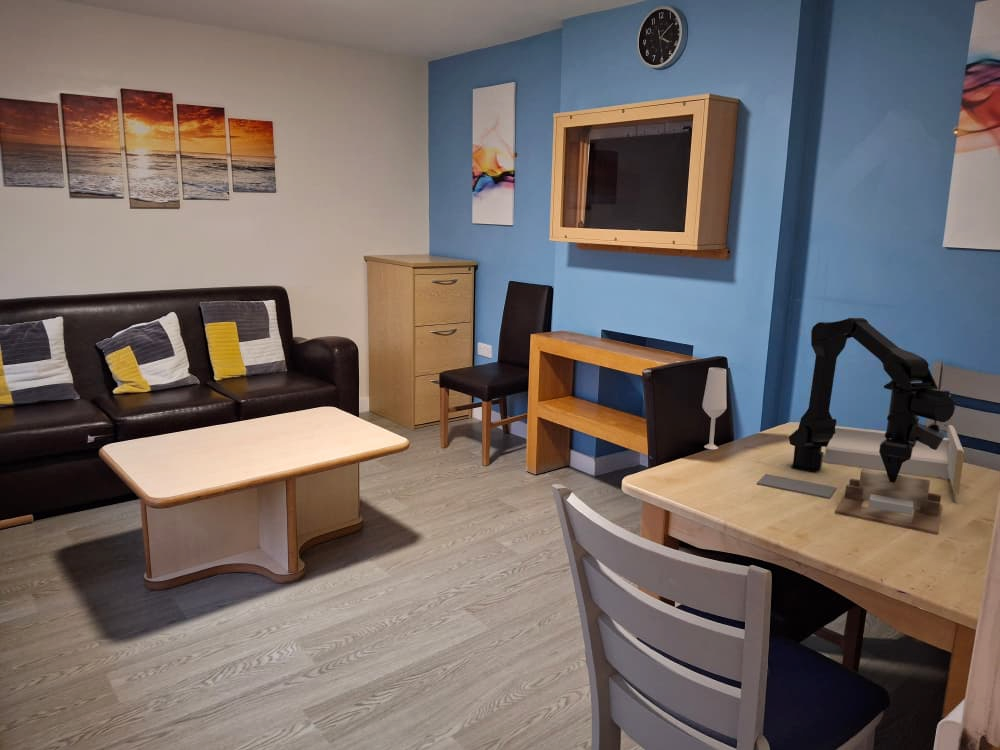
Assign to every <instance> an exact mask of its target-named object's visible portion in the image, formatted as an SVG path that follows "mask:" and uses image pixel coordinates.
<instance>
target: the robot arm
mask: <svg viewBox="0 0 1000 750" xmlns="http://www.w3.org/2000/svg"><path fill="white" fill-rule="evenodd" d="M810 332H811V334H810V335H811V336H810V337H811V339H810V342H811V343H810V345H811V347H812V350H813V352H814V354H815V359H814V367H813V374H812V380H811V388H810V397H809V403H808V408H807V410H806V411H805V412H804V413H803V415H802V416H801V417H800V421H799V425H798V427H797V429H796V430H795V431H794V432H792V433H791V434H790V435H789V436H788V440H789V444H790V445H791V446H794V452H793V459H792V460H793V461H792V465H790V468H792V469H794V470H795V469H796V470H801V471H806V472H812V473H817V472H819V470H821V468H822V467H823V461H824V460H823V459H824V452H823V451H822V448H826V447H827V446H828V444H829V441H830V439H832V437H833V434H835V426H837V419H836V418H833V417H832V415H831V413H830V406H831V400H832V394H833V393H832V392H833V386H834V379H835V373H836V366H837V365H836V364H837V360H838V359H837V358H838V357H839V355H840V354H841V353H842V352H843V350H844V349H845V347H846V343H847V340H848V339H852V338H853V339H854V340H856V341H857V342H858V343H859V344H860V345H861V346H863V347H864V348H865V349H866V350H867V351H868V352H870V353H871V354H872V355H873V356H874V357H876V358H877V359H878V360H879V361H880V362H881V363H882V367H883V370H884V372H885V373H886V374H887V375H888V376H889V377H890V379H891V381H890V382H888V383H886V384H884V385H883V388H884V389H886V390H890V391H891V395H890V400H889V409H888V413H887V417H886V421H887V424H886V430H885V431H886V433H885V438H887V439H885V440H884V441H882V442H881V444H880V450H879V453H880V456H881V458H882V460H883V463H884V466H885V469H886V471H885V473H887V475H888V478H889V481H890V482H893V483H895V481H896V479H897V476H898V475H899V474H900V473H899V471H900V468H901V466H902V463H903V462H905V461H907V460H909V459H910V458H911V456H912V450H913V447H914V446H915V444H916V442H917V441H919V442H921V443H923V444H925V445H927V446H929V447H930V448H931V449H934V450H937V448H938V447H939V445H940V443H941V442H942V440H943V439H944V438H945V434H944V432H940V425H939V424H936V423H934V422H932V423H930V424H929V425H926V424H922V423H919V421H920V417H921V418H924V419H928V420H932V421H936V422H940V423H946V422H948V421H949V420H950V419H952V417H953V415H954V414H955V410H956V405H955V402H954V400H953V398H951V396H950V390H945V389H938V387H939V386H938V385H937V383H936V381H935V379H934V376H933V375H932V372H931V370H930V369H929V366H930V364H929V363H928V361H927V360H926V359H925V358H923V357H922V356H920V355H917V354H916V353H914V352H912V351H908V350H906V349H902V348H900V347H899V346H898V345H896V344H895V343H894V342H893V341H892V340H890V339H888V337H886V336H885V335H884V334H883V333H881V332H880V331H878V330H877V328H875V327H874V326H873V325H871V324H870V323H869V321H868V320H867V319H865V318H864V317H848V318H845V319H842V320H838V321H823V322H822V321H821V322H817V323H815V325H813V326H812V328H811V331H810ZM890 438H891V439H890ZM912 442H913V443H912Z"/></svg>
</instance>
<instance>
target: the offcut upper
mask: <svg viewBox="0 0 1000 750" xmlns="http://www.w3.org/2000/svg"><path fill="white" fill-rule="evenodd" d="M869 508H875V509H880V510H886V511H892V512H897V513H903V514H908V515H912V511H913V501H909V500H903V499H897V498H891V497H886V496H880V495H874V494H870V500H869Z"/></svg>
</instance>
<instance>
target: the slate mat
mask: <svg viewBox="0 0 1000 750" xmlns="http://www.w3.org/2000/svg"><path fill="white" fill-rule="evenodd" d="M756 485H757V486H758V485H759V486H762V487H763V486H764V487H768V488H774V489H779V490H783V491H788V492H793V493H799V494H803V495H804V494H805V495H809V496H814V497H818V498H823V499H828V500H830V499H831V498H832V496H833V495H834V493H835V492H836V490H837V487H836V486H832V485H826V484H820V483H816V482H812V481H805V480H801V479H794V478H790V477H784V476H778V475H774V474H768V473H765V474H764V475H763V476H762V477H761V478H760V479H759V480H758V481H757V482H756Z"/></svg>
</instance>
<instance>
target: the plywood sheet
mask: <svg viewBox="0 0 1000 750" xmlns="http://www.w3.org/2000/svg"><path fill="white" fill-rule="evenodd" d="M859 480H860V482H859V487H862V488H863V493H862V499H865V500H870V494H874V495H880V496H886V497H891V498H897V499H903V500H909V501H913V509H916V510H920V508H921V501H922V499H926V500H928V493H930V492H929V491H930V484H931V480H930V479H923V478H918V477H912V476H907V475H903V474H902V475H901V474H898V476H897V479H896V481H895V483H893V482H890V481H889V478H888V475H887V472H886V471H885V472H883V471H880V470H874V469H869V468H862V469H861V471H860V475H859Z"/></svg>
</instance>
